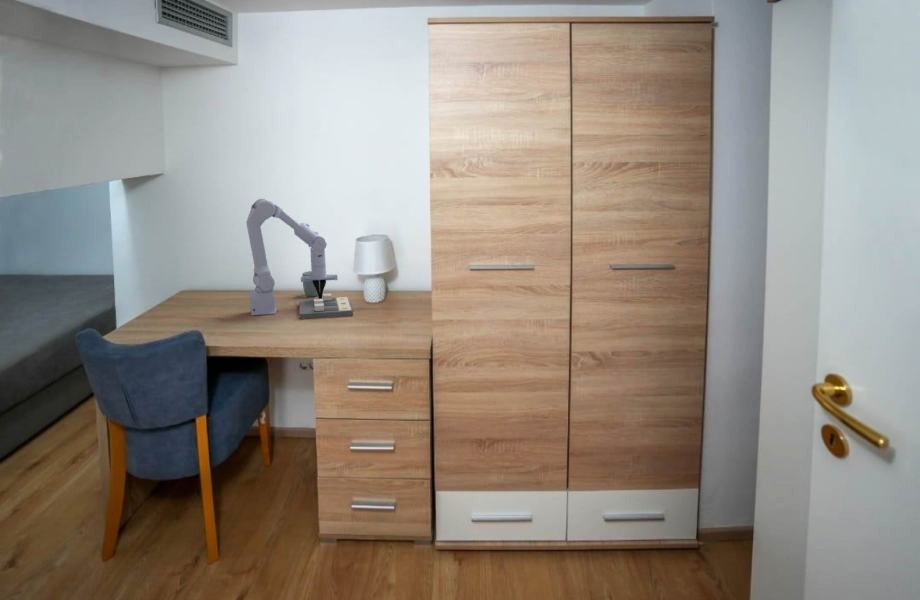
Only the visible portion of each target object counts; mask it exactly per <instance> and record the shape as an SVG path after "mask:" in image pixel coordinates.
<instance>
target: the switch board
mask: <svg viewBox="0 0 920 600" xmlns="http://www.w3.org/2000/svg"><path fill="white" fill-rule="evenodd" d="M314 299H315V298H301V299H298V303H299V304H298V306H299V307H298V308H299V309H298V310H299V319H300V320H302V319H301V318H310V319H322V318H323V319H324V318H337V317H338V318H339V317H341V318H342V317H353V316H354V311H353V307H352V305H351V300H350V298H349V296H338V297H337V296H336V297H335V296H334V297H332V300H330V301H323V303H324V311H315V306H314ZM316 299H319V297H317V298H316ZM322 299H323V297H322Z"/></svg>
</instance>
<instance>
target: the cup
mask: <svg viewBox="0 0 920 600" xmlns="http://www.w3.org/2000/svg"><path fill="white" fill-rule="evenodd" d="M301 275H302V276H301V277H303V276H311V275H312V271H311V270H309V271H304V272H302V274H301ZM302 287H303V293H304V295H305V296H307V297H309V298H310V297H312V298H314V297H318V293H317V291H316V288H315V286H314V285H313V281H307V282H302ZM319 290H320V281H319Z"/></svg>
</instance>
